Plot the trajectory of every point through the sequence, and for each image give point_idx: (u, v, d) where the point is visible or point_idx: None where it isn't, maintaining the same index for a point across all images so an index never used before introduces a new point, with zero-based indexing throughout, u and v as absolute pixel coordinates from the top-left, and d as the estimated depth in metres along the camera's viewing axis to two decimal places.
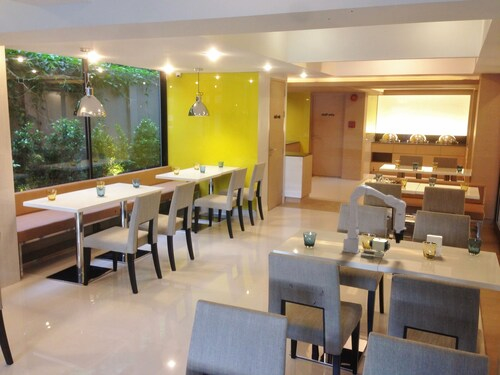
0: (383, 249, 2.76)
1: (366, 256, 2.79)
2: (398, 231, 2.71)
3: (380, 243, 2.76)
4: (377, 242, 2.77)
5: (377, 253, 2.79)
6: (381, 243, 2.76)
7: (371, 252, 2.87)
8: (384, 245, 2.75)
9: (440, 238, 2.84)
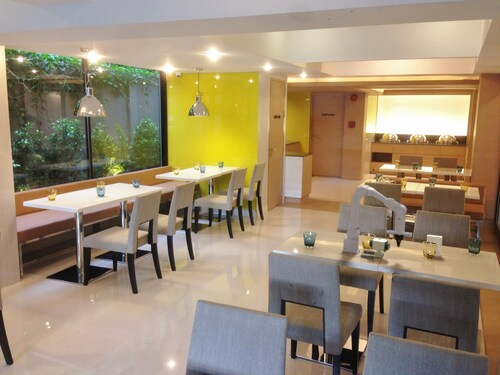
0: (383, 249, 2.76)
1: (366, 256, 2.79)
2: None
3: (380, 243, 2.76)
4: (377, 242, 2.77)
5: (377, 253, 2.79)
6: (381, 243, 2.76)
7: (371, 252, 2.87)
8: (384, 245, 2.75)
9: (440, 238, 2.84)
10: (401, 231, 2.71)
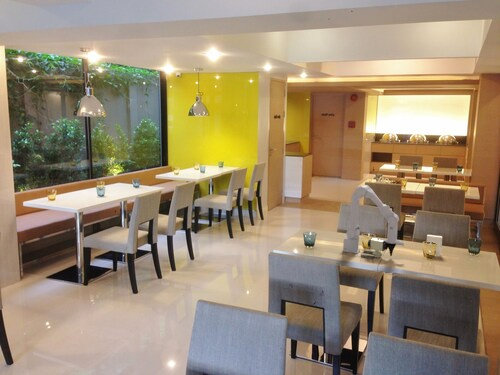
0: (381, 249, 2.76)
1: (366, 256, 2.79)
2: None
3: (378, 243, 2.77)
4: (375, 242, 2.78)
5: (375, 253, 2.79)
6: (379, 243, 2.76)
7: (371, 252, 2.87)
8: (382, 245, 2.75)
9: (440, 238, 2.84)
10: (393, 240, 2.73)
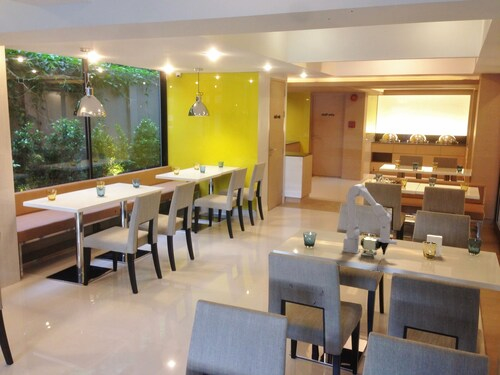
0: (374, 248, 2.78)
1: (366, 256, 2.79)
2: None
3: (371, 242, 2.79)
4: (368, 241, 2.80)
5: (368, 252, 2.81)
6: (372, 242, 2.78)
7: None
8: (375, 244, 2.77)
9: (440, 238, 2.84)
10: (386, 239, 2.75)
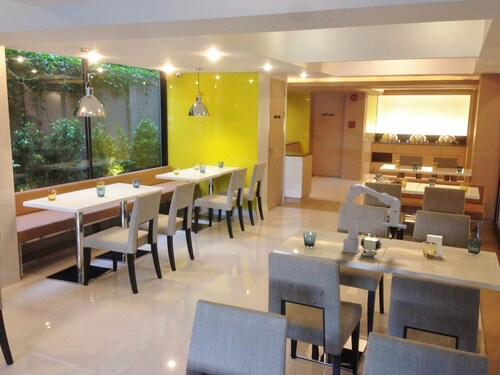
0: (374, 248, 2.78)
1: (366, 256, 2.79)
2: (382, 224, 2.87)
3: (371, 242, 2.78)
4: (368, 241, 2.80)
5: (368, 252, 2.81)
6: (372, 242, 2.78)
7: None
8: (375, 244, 2.77)
9: (440, 238, 2.84)
10: (395, 223, 2.81)
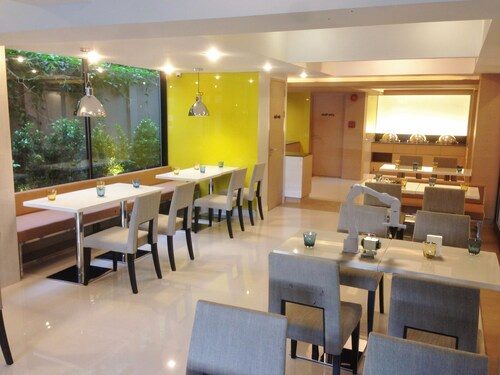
0: (374, 248, 2.78)
1: (366, 256, 2.79)
2: (382, 224, 2.87)
3: (371, 242, 2.78)
4: (368, 241, 2.80)
5: (368, 252, 2.81)
6: (372, 242, 2.78)
7: None
8: (375, 244, 2.77)
9: (440, 238, 2.84)
10: (395, 223, 2.81)
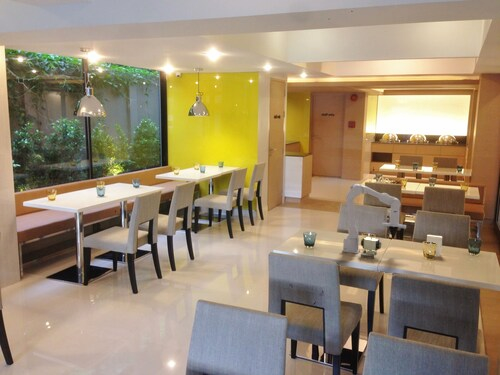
0: (374, 248, 2.78)
1: (366, 256, 2.79)
2: (382, 224, 2.87)
3: (371, 242, 2.78)
4: (368, 241, 2.80)
5: (368, 252, 2.81)
6: (372, 242, 2.78)
7: None
8: (375, 244, 2.77)
9: (440, 238, 2.84)
10: (395, 223, 2.81)
